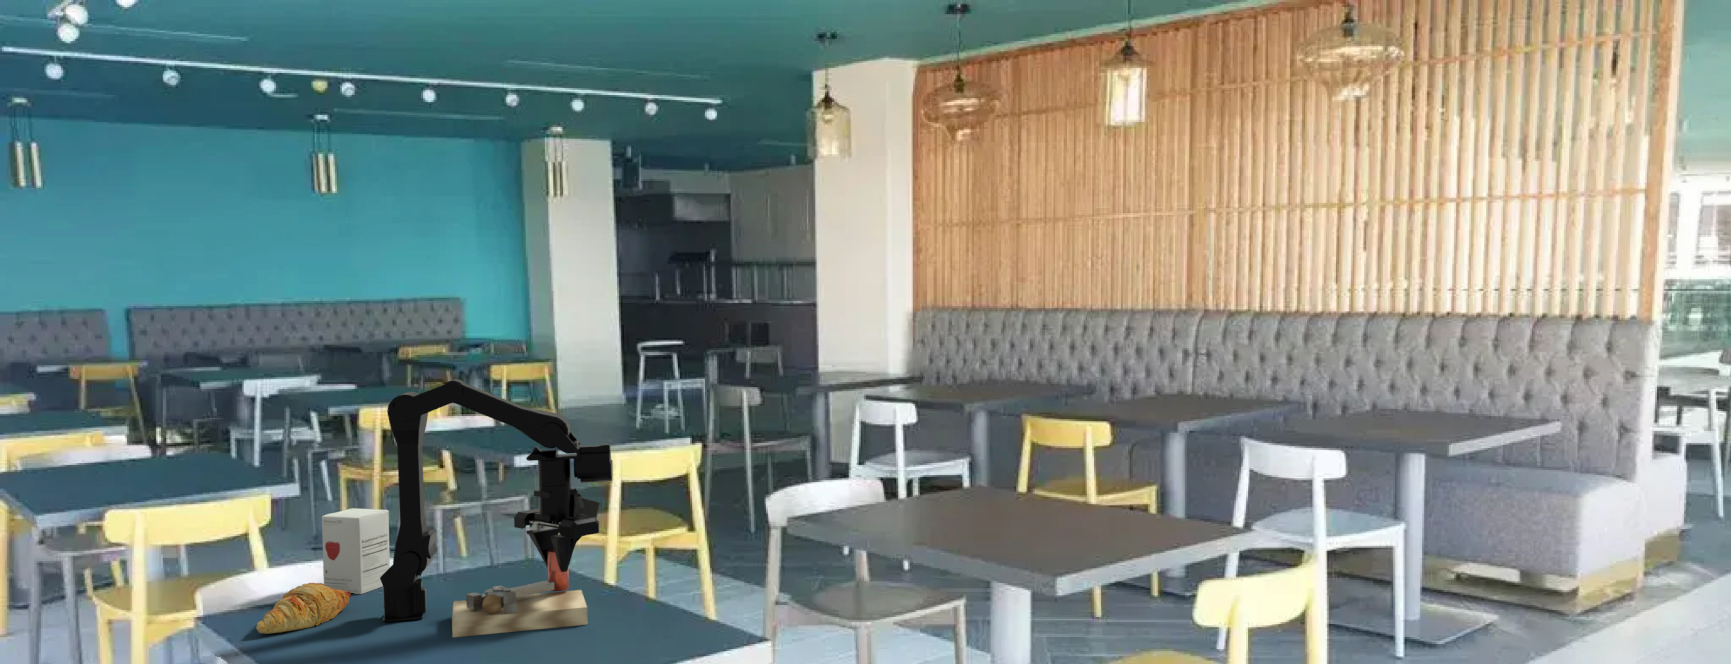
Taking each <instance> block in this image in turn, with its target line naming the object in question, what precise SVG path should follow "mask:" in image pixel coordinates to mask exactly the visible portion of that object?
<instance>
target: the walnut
mask: <svg viewBox="0 0 1731 664" xmlns="http://www.w3.org/2000/svg"><path fill="white" fill-rule="evenodd" d="M501 607H502V599H501V598H500V597H499V596H498V595H495V594H491V595H488V596H487V597H486V598H485V599H484V601H483V609H484V610H485V611H486V612H487V613H490V614H494V613H497V612H498V611H499V610H500V609H501Z"/></svg>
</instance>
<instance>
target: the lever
mask: <svg viewBox="0 0 1731 664" xmlns="http://www.w3.org/2000/svg"><path fill="white" fill-rule="evenodd" d="M547 554H548V568H547V580H543V581H538V582H534V583H533V582H532V583H527V584H524V585H520V586H519V585H518V586H513V587H504V586H503V585H496V586H495V585H494V586H492V588H489V589H486V590H485V591H484V592H483V593H478V592H470V593H465V597H466V598H465V599H466V602H467V608H468V609H471V610H477V609H482V605H483V601H484V599H485V598H486V597H487V596H488V595H491V594H495V595H498V596H499V597H500V598H501V599H502V604H504V603H503V593H506V592H515V593H516V598H518V597H523V596H528V595H532V594H541V593H547V592H563V591H569V589H570V578H569V577H570V575H569V572H570V571H569V570H570V569H568V570H567V571H566V572H561V570H560V567H559V564H558V561H557V557H556V554H555V550H554V549H551V550H548V551H547Z"/></svg>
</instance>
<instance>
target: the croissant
mask: <svg viewBox="0 0 1731 664" xmlns="http://www.w3.org/2000/svg"><path fill="white" fill-rule="evenodd" d="M351 596H352V594H351V592H350V591H343V590H339V589H337V590H336V589H333V588H330V587H327V586H325V585H324V583H322V582H308V583H302V584H301V585H298V586H296V587H294V588H291V589H290V590H289V591H287V592H286V593H285V594H283V596H282V597H281V599H279V600H278V601H277V602H276V603H275V605H274V606H273V609H270V610H269V611H267V612H266V613H265V614H264V617H263V618H262V620H260V621H258V622H257V624H256V631H257V632H258V633H259V634H264V635H266V634H276V633H279V634H280V633H283V632H284V633H285V632H291V631H298V630H303V629H309V628H314V627H318V626H319V625H321V624H320V623H322V624H324V623H323V622H325V623H327V622H329V621H331V620H332V619H334V618H335V617H336V616H337V615H338V614H340V613H341V612H342V611H343V610H344V609H345V608H346V607H347V606H348V605H349V602H350V598H351ZM330 619H331V620H330ZM326 621H327V622H326ZM315 625H316V626H315Z"/></svg>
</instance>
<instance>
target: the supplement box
mask: <svg viewBox="0 0 1731 664" xmlns="http://www.w3.org/2000/svg"><path fill="white" fill-rule="evenodd" d="M389 517H390V511H389V510H388V509H374V508H357V507H353V508H348V509H344V510H341V511H340V510H339V511H337V512H331V513H327V514H325V515H322V516H321V533H322V538H321V539H322V564H323V566H322V569H323V584H324V585H325V586H327V587H330V588H333V589H336V590H337V589H339V590H343V591H350V592H351V593H354V594H353V595H362V594H363V595H364V594H365V593H368V592H371V591H375V590H376V589H380V588H384V587H383V585H382V582H381V580H380V577H381V576H382V575H383V574H384V573H385V572H386V571H387V570H388V569H389V568H390V567H391V565H390V564H391V562H390V561H391V560H390V525H389V524H390V521H389Z"/></svg>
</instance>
